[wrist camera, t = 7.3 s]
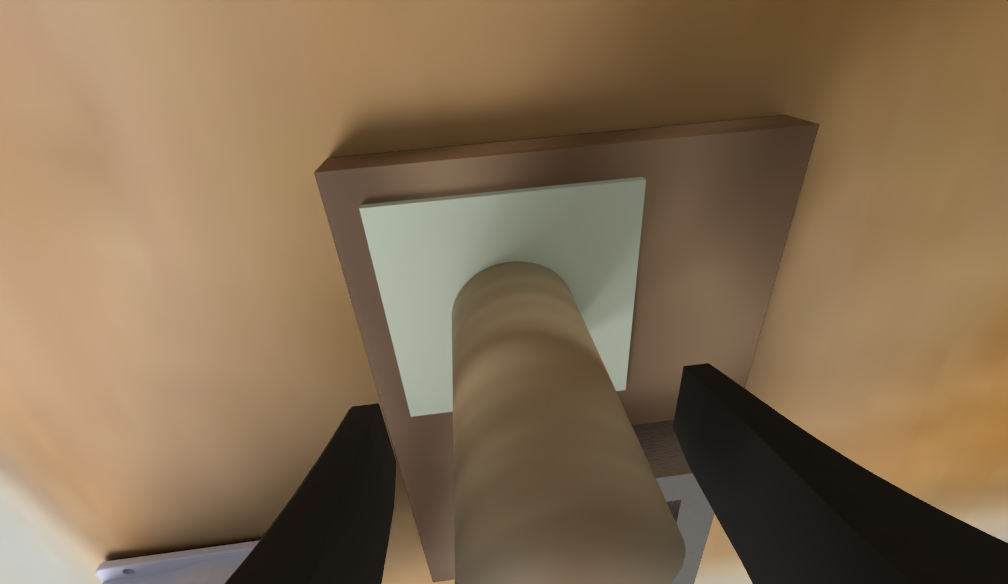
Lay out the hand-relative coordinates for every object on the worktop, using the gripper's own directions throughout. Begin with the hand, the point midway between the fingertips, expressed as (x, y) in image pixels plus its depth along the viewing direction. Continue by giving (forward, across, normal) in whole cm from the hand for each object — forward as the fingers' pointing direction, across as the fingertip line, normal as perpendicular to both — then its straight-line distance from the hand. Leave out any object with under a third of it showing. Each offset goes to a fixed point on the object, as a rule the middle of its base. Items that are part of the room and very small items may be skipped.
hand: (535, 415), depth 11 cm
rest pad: (+5, 0, 0) cm, 5 cm away
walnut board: (+6, -2, +6) cm, 9 cm away
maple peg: (+4, 0, 0) cm, 4 cm away
